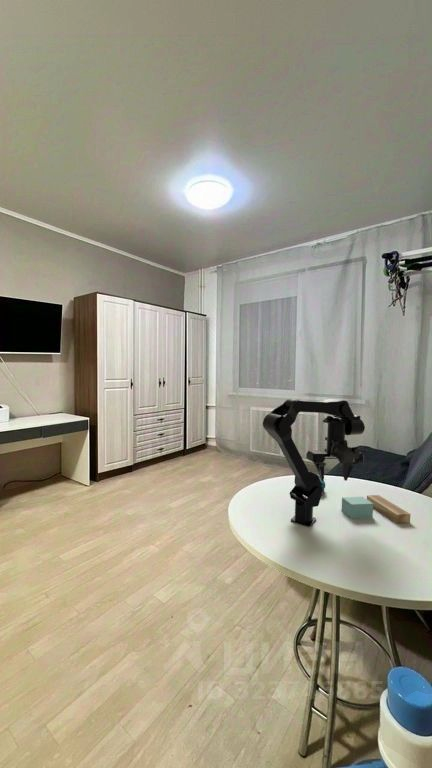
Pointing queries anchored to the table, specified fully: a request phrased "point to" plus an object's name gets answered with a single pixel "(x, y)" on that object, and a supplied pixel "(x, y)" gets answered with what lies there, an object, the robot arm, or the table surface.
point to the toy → (322, 483)
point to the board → (389, 509)
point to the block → (357, 507)
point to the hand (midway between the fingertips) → (333, 480)
